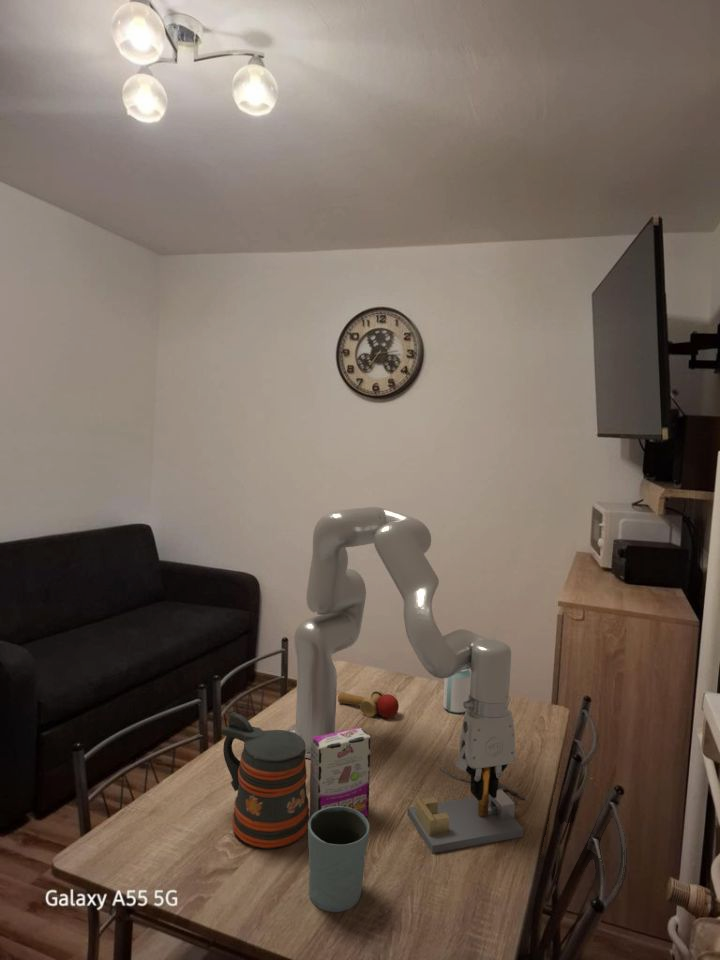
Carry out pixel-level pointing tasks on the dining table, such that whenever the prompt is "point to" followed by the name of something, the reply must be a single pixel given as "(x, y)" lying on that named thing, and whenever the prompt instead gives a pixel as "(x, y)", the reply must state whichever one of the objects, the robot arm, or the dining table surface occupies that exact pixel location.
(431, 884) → the dining table surface
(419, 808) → the bracket
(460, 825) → the tie down board
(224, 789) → the dining table surface
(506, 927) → the dining table surface
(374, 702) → the kendama
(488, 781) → the amber lever
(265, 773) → the beer stein
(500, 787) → the pliers
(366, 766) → the candy bar box
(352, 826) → the grey green cup
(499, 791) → the block
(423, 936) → the dining table surface
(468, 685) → the can
